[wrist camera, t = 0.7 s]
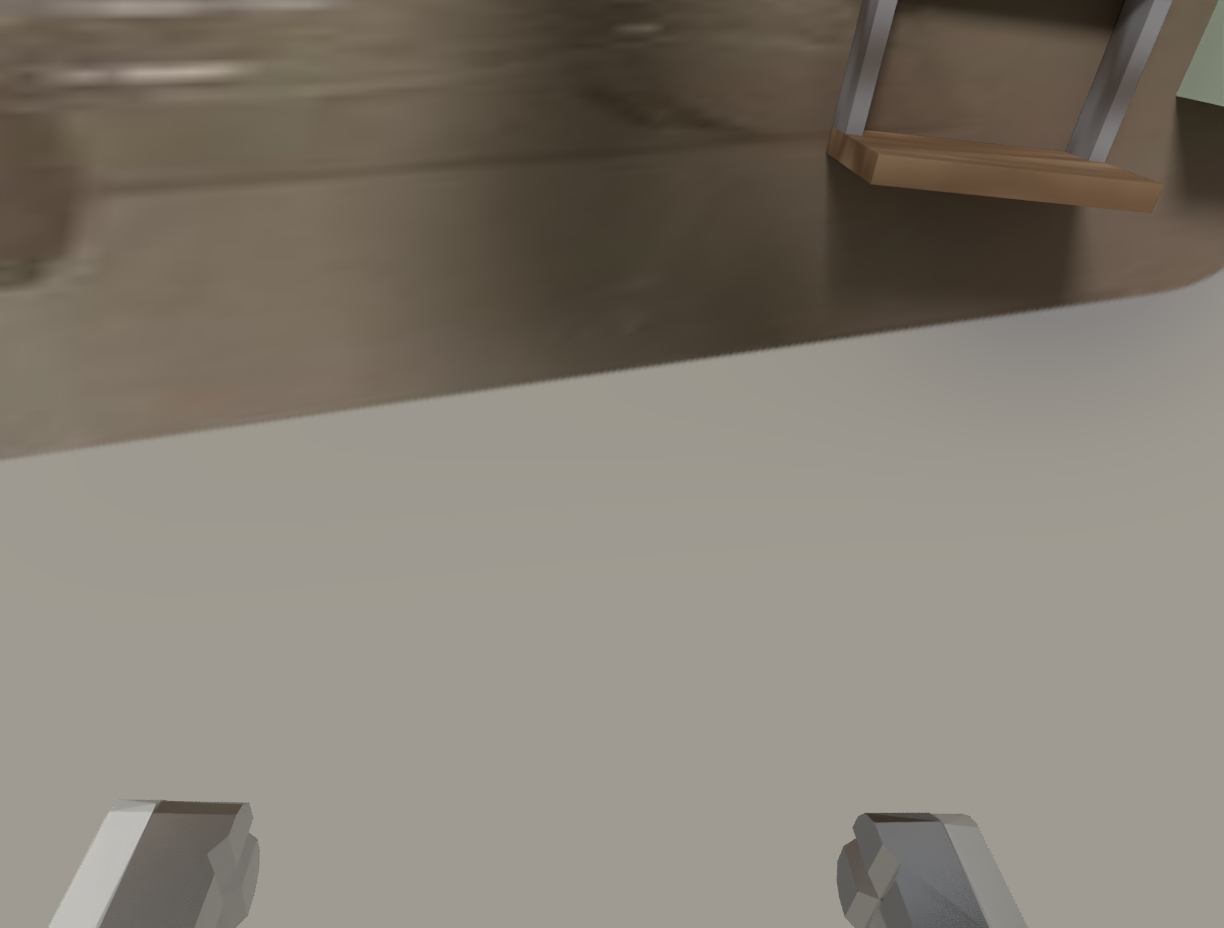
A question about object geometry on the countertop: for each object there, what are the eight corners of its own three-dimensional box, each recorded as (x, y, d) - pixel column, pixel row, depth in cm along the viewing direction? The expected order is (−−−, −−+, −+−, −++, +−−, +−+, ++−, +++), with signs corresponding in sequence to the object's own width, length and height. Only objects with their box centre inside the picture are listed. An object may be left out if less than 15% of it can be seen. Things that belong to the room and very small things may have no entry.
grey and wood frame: (883, -87, 42) (947, -95, 35) (1161, -47, 44) (1272, -48, 37) (826, 152, 48) (870, 184, 41) (1070, 178, 50) (1151, 213, 43)
